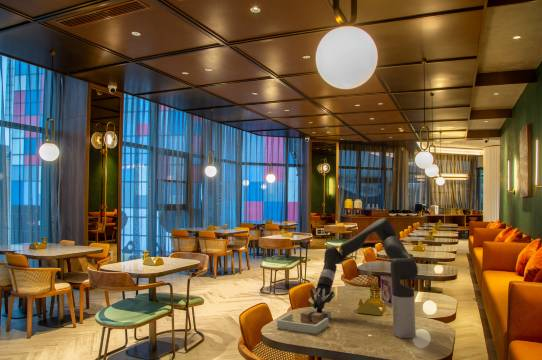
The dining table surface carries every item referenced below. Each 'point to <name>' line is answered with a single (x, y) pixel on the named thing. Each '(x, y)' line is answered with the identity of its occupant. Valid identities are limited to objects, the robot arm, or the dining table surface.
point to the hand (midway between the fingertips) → (317, 308)
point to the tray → (300, 325)
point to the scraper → (318, 301)
